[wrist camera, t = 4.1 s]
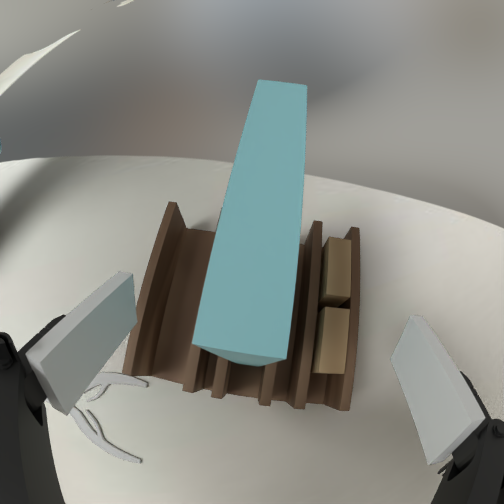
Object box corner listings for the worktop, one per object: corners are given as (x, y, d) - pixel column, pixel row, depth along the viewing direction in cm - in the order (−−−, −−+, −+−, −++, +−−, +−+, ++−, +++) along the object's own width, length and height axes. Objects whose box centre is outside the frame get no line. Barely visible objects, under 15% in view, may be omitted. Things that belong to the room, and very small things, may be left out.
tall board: (236, 363, 24) (191, 343, 5) (253, 264, 28) (258, 79, 10) (258, 366, 24) (286, 358, 5) (272, 266, 28) (307, 85, 9)
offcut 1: (310, 310, 26) (326, 294, 20) (314, 263, 28) (329, 236, 22) (329, 313, 26) (350, 296, 20) (332, 266, 28) (351, 240, 22)
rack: (147, 373, 24) (122, 372, 18) (181, 231, 30) (168, 201, 25) (339, 403, 23) (363, 410, 17) (350, 255, 29) (370, 230, 24)
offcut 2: (303, 371, 23) (318, 372, 18) (309, 320, 25) (325, 306, 20) (323, 373, 23) (344, 373, 18) (329, 323, 25) (349, 309, 20)
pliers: (136, 467, 18) (31, 417, 19) (142, 463, 20) (38, 417, 20) (143, 380, 22) (37, 343, 23) (149, 380, 24) (45, 345, 24)
